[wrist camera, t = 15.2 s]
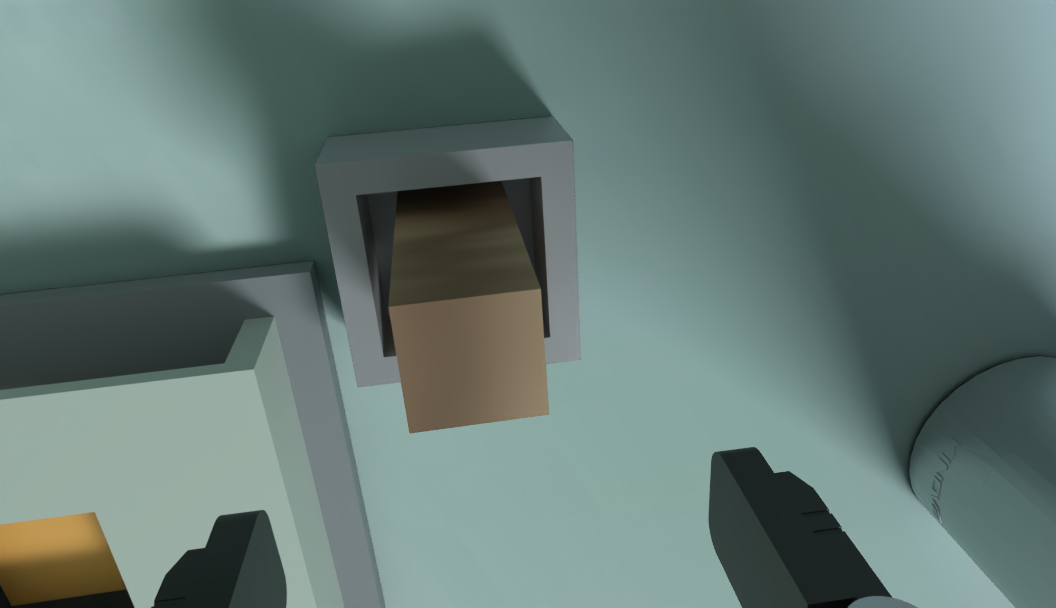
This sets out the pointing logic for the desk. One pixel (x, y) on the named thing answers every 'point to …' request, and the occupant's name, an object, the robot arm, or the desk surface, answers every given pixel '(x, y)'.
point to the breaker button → (56, 559)
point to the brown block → (465, 309)
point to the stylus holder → (435, 161)
